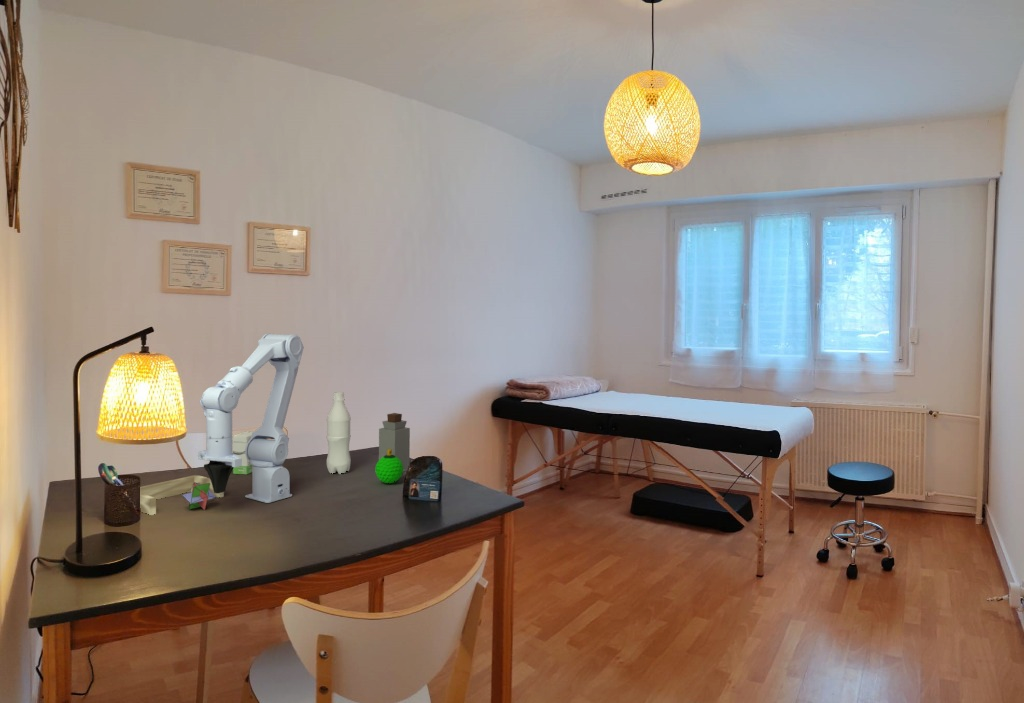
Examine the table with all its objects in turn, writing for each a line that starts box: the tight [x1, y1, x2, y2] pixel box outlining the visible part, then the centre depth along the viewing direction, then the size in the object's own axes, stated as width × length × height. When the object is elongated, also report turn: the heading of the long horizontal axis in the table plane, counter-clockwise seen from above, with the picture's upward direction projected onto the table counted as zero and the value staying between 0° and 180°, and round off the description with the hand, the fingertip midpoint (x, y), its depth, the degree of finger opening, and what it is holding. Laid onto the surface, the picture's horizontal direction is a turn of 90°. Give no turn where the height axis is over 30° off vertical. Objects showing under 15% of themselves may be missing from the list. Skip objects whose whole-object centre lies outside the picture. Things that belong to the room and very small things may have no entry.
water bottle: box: [326, 391, 352, 475], centre depth 195 cm, size 7×7×25 cm
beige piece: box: [139, 474, 225, 516], centre depth 163 cm, size 13×19×4 cm, turn 148°
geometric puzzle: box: [181, 482, 218, 511], centre depth 157 cm, size 7×7×8 cm
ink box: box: [232, 430, 254, 475], centre depth 195 cm, size 9×5×12 cm, turn 173°
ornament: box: [374, 449, 404, 484], centre depth 184 cm, size 8×8×10 cm
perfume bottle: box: [378, 412, 411, 470], centre depth 199 cm, size 7×7×18 cm
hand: (219, 492), depth 153 cm, fingers closed
